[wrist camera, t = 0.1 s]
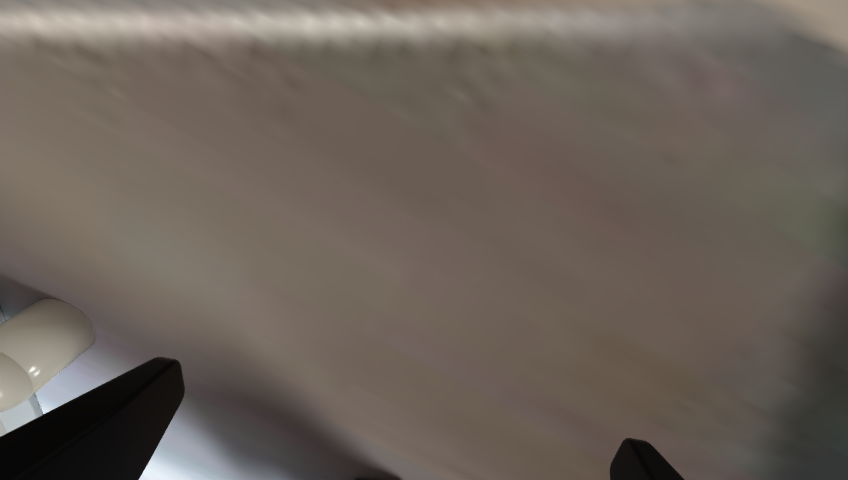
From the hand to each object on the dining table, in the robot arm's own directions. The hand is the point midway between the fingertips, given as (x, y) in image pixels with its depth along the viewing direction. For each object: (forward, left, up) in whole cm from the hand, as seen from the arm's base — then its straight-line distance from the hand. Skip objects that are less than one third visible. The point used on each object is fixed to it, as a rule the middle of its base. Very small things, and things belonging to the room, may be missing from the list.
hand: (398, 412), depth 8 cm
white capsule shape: (-14, +24, -15) cm, 31 cm away
